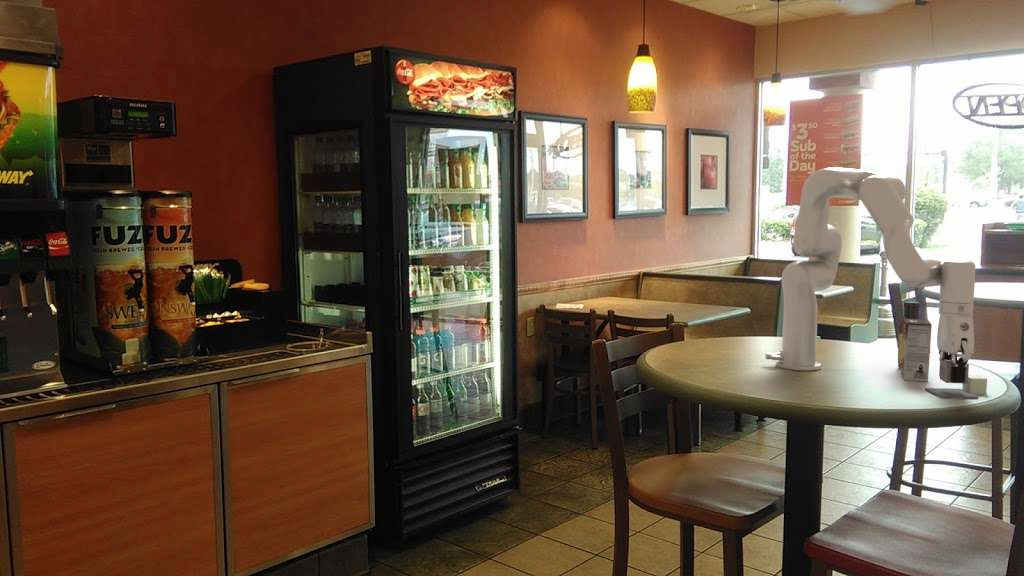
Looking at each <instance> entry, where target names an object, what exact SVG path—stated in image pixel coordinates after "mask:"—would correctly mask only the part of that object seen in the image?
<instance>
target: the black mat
mask: <svg viewBox="0 0 1024 576" xmlns="http://www.w3.org/2000/svg"><path fill="white" fill-rule="evenodd" d="M924 391H925V392H928V393H930V394H931V395H934V396H936V397H939V398H941V399H969V400H970V399H971V400H972V399H974V400H975V399H976V400H979V396H977V395H976V394H971V393H969V392H967V391H964V390H962V388H942V387H939V388H938V387H937V388H936V387H935V388H933V387H924Z"/></svg>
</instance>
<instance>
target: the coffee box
mask: <svg viewBox="0 0 1024 576" xmlns="http://www.w3.org/2000/svg"><path fill="white" fill-rule="evenodd" d="M903 319H904V318H903ZM932 325H933V324H932V323H931V322H930V321H929V319H920V318H919V319H904V321H903V340H902V359H901V369H900V375H901V377H902V379H903V380H904V381H910V382H911V381H914V382H927V383H928V382H929V375H930V374H929V371H930V370H929V369H930V355H931V341H932V340H931V337H932Z"/></svg>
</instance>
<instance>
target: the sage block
mask: <svg viewBox="0 0 1024 576" xmlns="http://www.w3.org/2000/svg"><path fill="white" fill-rule="evenodd" d="M987 387H988V378H986V377H983V376H981V375H975V374H974V375H973V374H972V375H969V374H968V384H962V388H961V389H962V390H964V391H967V392H969V393H971V394H973V395H976V394H977V395H980V394H983V395H986V394H987V391H988V390H987V389H988V388H987Z"/></svg>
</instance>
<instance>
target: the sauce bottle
mask: <svg viewBox="0 0 1024 576" xmlns="http://www.w3.org/2000/svg"><path fill="white" fill-rule="evenodd" d="M919 307H920V302H918V301H903V308H904V309H903V310H904V311H903V312H904V313H903V319H902V320H901V321H900V323H899V329H898V341H897V342H898V343H897V344H898V345H897V363H898V364H897V366H898V369H900V370H901V359H902V340H903V321H904V319H919V320H920V317H919Z"/></svg>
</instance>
